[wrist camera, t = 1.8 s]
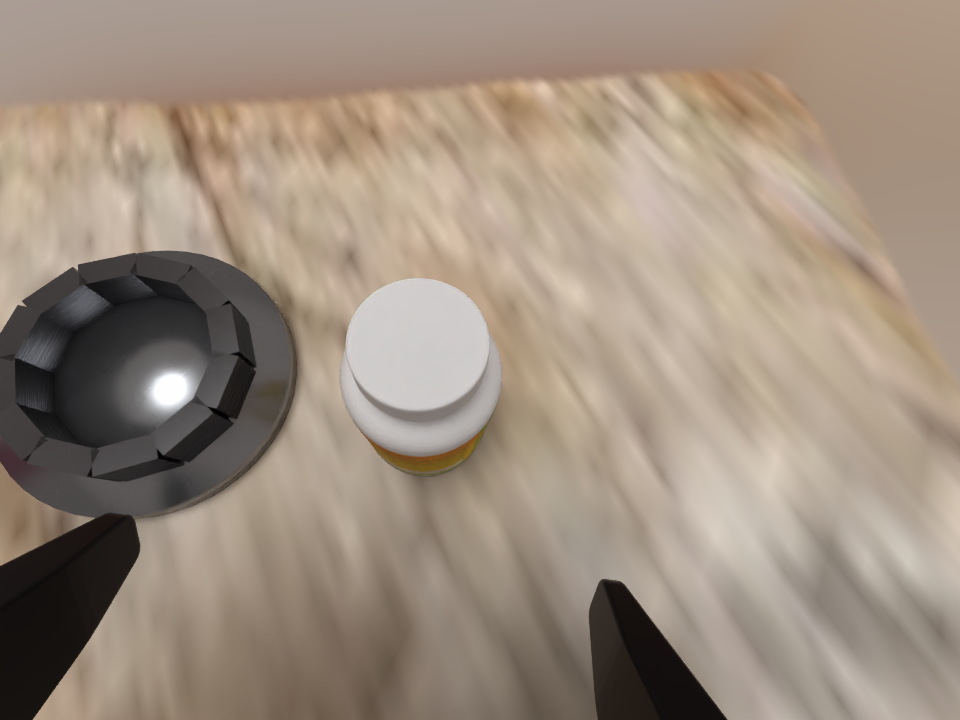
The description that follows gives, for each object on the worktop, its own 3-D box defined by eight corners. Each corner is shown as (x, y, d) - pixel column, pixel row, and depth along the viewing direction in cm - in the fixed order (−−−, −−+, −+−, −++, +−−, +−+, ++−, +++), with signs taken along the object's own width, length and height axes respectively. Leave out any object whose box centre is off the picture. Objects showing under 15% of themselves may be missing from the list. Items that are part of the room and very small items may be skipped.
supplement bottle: (490, 471, 22) (528, 429, 12) (369, 482, 21) (316, 448, 12) (478, 359, 23) (504, 250, 14) (366, 366, 23) (318, 258, 14)
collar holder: (123, 584, 19) (64, 594, 16) (-46, 383, 21) (-127, 359, 18) (350, 375, 22) (337, 352, 20) (188, 221, 24) (153, 178, 21)
